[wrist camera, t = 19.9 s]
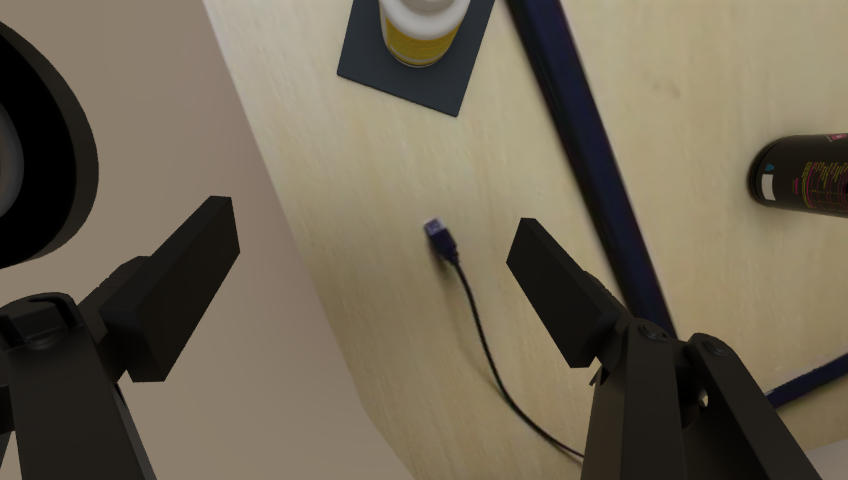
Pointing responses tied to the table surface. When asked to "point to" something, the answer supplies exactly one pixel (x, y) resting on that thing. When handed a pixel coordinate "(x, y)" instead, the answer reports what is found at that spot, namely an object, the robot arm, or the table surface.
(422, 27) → the supplement bottle
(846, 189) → the supplement container
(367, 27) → the mat
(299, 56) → the table surface
